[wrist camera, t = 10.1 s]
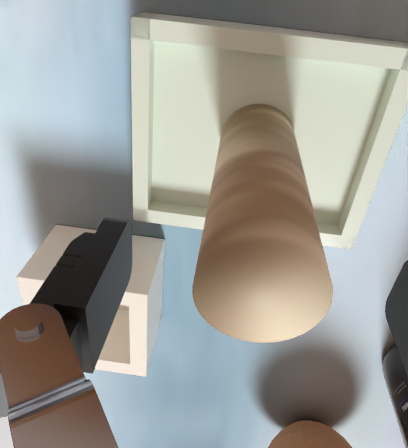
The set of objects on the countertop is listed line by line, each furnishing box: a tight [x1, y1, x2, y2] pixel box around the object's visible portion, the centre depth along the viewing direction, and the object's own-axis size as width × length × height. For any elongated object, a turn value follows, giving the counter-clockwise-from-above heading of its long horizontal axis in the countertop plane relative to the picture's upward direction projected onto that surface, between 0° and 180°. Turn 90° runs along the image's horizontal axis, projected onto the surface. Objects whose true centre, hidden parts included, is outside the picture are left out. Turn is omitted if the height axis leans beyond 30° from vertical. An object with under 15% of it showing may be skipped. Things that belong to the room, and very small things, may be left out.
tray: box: [131, 12, 408, 249], centre depth 19 cm, size 12×10×2 cm
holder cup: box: [17, 225, 165, 377], centre depth 25 cm, size 7×7×5 cm
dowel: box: [192, 104, 333, 343], centre depth 15 cm, size 4×4×11 cm
